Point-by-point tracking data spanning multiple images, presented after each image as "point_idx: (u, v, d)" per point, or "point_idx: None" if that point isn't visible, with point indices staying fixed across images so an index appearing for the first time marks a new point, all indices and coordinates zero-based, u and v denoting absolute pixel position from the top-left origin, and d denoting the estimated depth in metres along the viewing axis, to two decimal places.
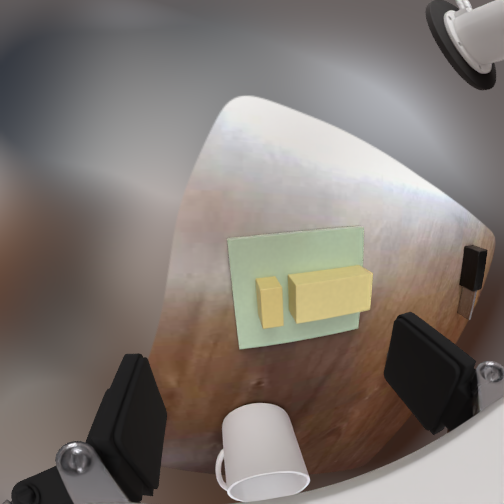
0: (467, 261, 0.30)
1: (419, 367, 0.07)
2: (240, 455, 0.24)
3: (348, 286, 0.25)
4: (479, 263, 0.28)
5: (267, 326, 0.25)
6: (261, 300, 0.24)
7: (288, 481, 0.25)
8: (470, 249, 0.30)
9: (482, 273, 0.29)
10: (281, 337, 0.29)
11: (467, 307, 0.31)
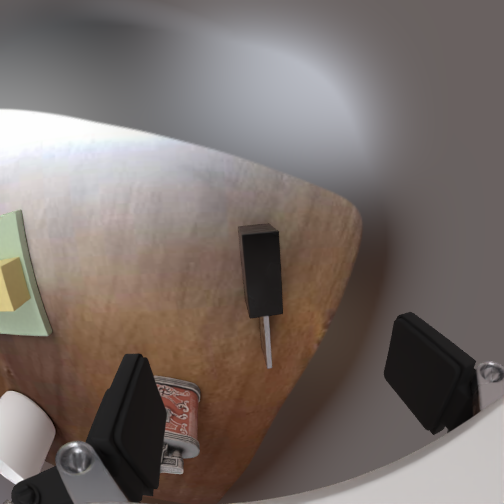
0: (241, 256, 0.20)
1: (419, 367, 0.07)
2: None
3: None
4: (251, 260, 0.18)
5: None
6: None
7: None
8: (239, 231, 0.19)
9: (273, 282, 0.19)
10: None
11: (263, 344, 0.21)
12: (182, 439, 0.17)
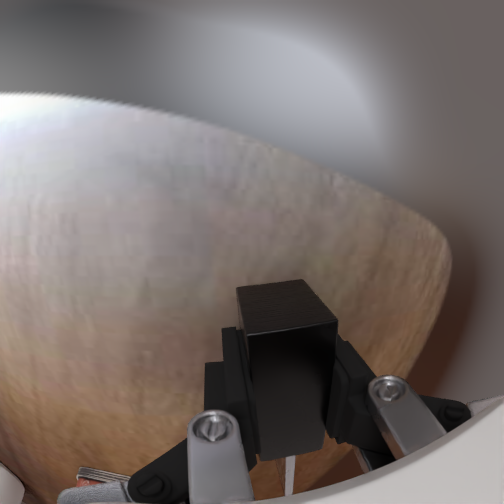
0: None
1: None
2: None
3: None
4: (268, 384, 0.07)
5: None
6: None
7: None
8: (240, 306, 0.08)
9: (313, 413, 0.07)
10: None
11: (281, 470, 0.10)
12: None
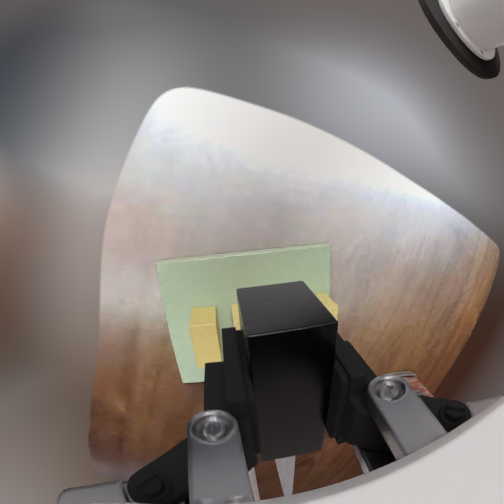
0: None
1: None
2: None
3: None
4: (269, 385, 0.07)
5: (202, 366, 0.20)
6: (191, 337, 0.19)
7: None
8: None
9: (312, 414, 0.07)
10: None
11: (280, 470, 0.10)
12: None
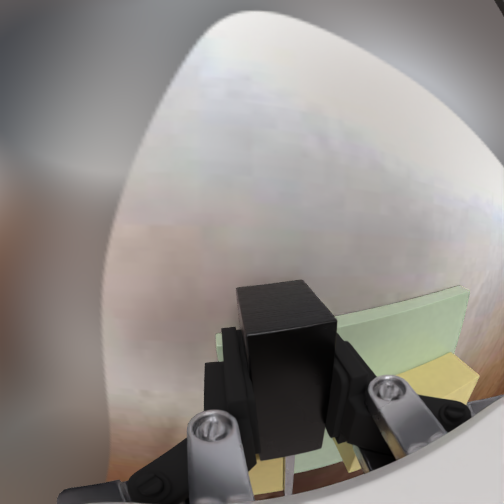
0: None
1: None
2: None
3: None
4: (268, 384, 0.07)
5: None
6: None
7: None
8: (240, 306, 0.08)
9: (312, 413, 0.07)
10: (312, 465, 0.14)
11: None
12: None
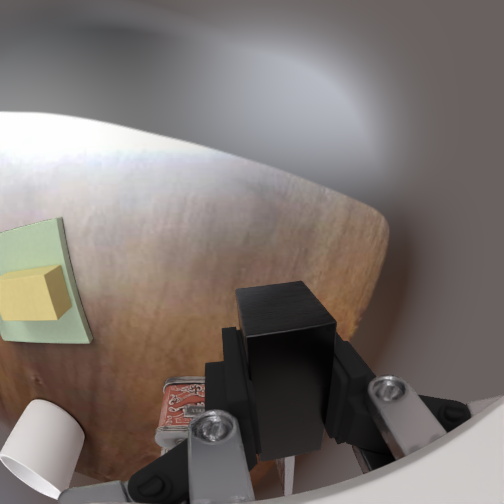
0: None
1: None
2: (8, 437, 0.16)
3: (25, 288, 0.17)
4: (267, 385, 0.07)
5: None
6: None
7: None
8: None
9: (311, 414, 0.07)
10: (23, 336, 0.21)
11: (280, 470, 0.10)
12: None
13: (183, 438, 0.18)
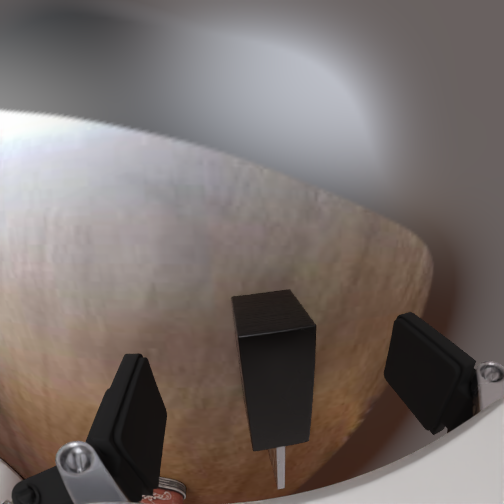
0: None
1: (419, 367, 0.07)
2: None
3: None
4: (258, 379, 0.08)
5: None
6: None
7: None
8: (234, 313, 0.10)
9: (298, 407, 0.09)
10: None
11: (273, 463, 0.11)
12: None
13: None
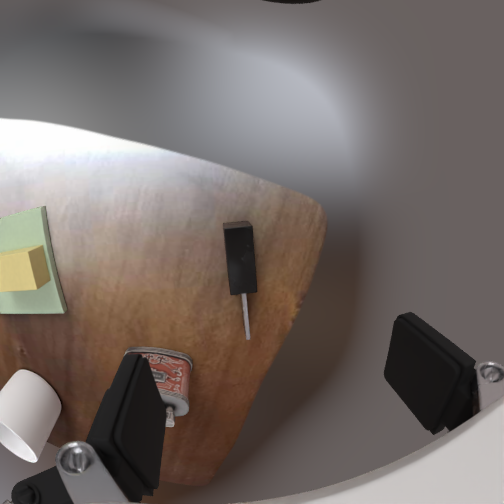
0: None
1: (419, 367, 0.07)
2: None
3: (13, 263, 0.20)
4: (231, 248, 0.23)
5: None
6: None
7: None
8: (223, 226, 0.25)
9: (248, 266, 0.24)
10: (11, 308, 0.24)
11: (243, 319, 0.26)
12: (174, 396, 0.22)
13: None
